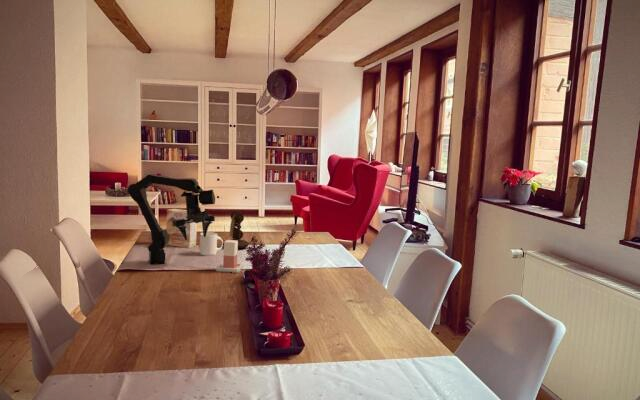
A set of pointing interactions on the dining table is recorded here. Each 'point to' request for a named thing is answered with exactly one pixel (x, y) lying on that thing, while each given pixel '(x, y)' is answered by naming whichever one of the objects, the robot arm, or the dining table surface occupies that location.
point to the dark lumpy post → (237, 229)
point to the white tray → (233, 270)
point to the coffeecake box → (175, 233)
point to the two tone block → (230, 254)
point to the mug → (209, 244)
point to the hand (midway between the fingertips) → (195, 238)
